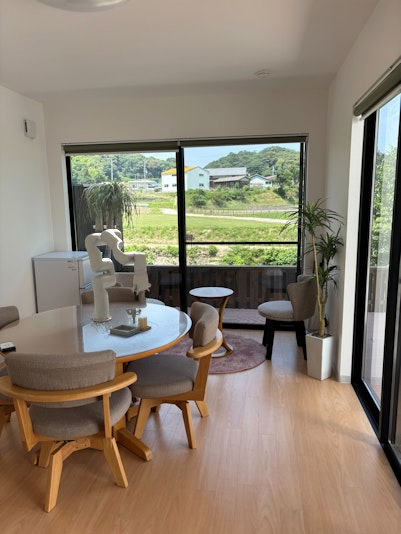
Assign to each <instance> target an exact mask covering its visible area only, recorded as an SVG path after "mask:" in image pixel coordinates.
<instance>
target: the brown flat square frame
mask: <svg viewBox="0 0 401 534" xmlns="http://www.w3.org/2000/svg"><path fill="white" fill-rule="evenodd" d="M136 327H138V325H137V326H136ZM151 329H152V326H151V325H147V327H146V328H144V329H142V328H140V332H142V333H144V332H147V331H150V330H151Z"/></svg>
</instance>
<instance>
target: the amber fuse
mask: <svg viewBox="0 0 401 534" xmlns="http://www.w3.org/2000/svg"><path fill="white" fill-rule="evenodd" d="M137 322H138V324H137V326H138V327H139V328H142V329H144V328H146V327H147V326H148V317H147V316H144V315H143V316H142V315H141V316H139V317H137Z"/></svg>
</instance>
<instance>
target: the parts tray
mask: <svg viewBox="0 0 401 534" xmlns="http://www.w3.org/2000/svg"><path fill="white" fill-rule="evenodd" d="M139 333H141V331H140V328H139V327H137V326H133V325H129V324H123V323H122V324H119V325H116V326H113V327H110V328H109V334H110V335H115V336H120V337H121V336H122V337H125V338H129V337H131V336H134V335H136V334H139Z"/></svg>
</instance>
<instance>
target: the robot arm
mask: <svg viewBox="0 0 401 534" xmlns="http://www.w3.org/2000/svg"><path fill="white" fill-rule="evenodd" d="M122 238H123V235H122V232H121V231H120V230H118V229H117V228H114V229H105V230H102V232H97V233H95V232H94V233H91V234H88V235H86V237H85V240H84V246H85V250H86V251H87V254H88V260H89V264H90V269H91V272H92V273H94V274H97V275H95V276H93V277H92V278H91V286H92V289H93V302H94V312H93V313H92V314H91V315H92V316H94V317H93V318H92V320H93V322H97V323H98V322H99V323H101V322H103V323H104V322H109V321H111V320H112V316H111V315H110V307H109V306H110V304H109V293H108V291H107V290H106V288H111V287H114V286H115V285H116V283H117V276H116V270H115V265H114V262H113V260H111V259H110V258H108V257H103V256H102V253H101V250H100V248H98V247H100V246H107V247H109V248H110V249H111V250H112V255H113V257H114V259H115V260H116V261H117V262H118V263H119V264H120V265H123V266H126V265H133V267H134V268H133V269H134V275H133V280H132V287H131V289H130V290H131V293H132V294H133V295H134V296H133V298H134V302H140V301H139V300H140V298H139V297H140V296H139V292H142V291H144V298H145V299H149V298H150V291H151V286H152V284H151V283H150V282H149V277H148V272H147V271H148V270H147V254H146V253H145V252H140V251H139V252H138V251H129V252H128V251H127V252H123V251H122V249H123V247H124V241H123V239H122ZM101 273H102V274H101Z"/></svg>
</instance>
